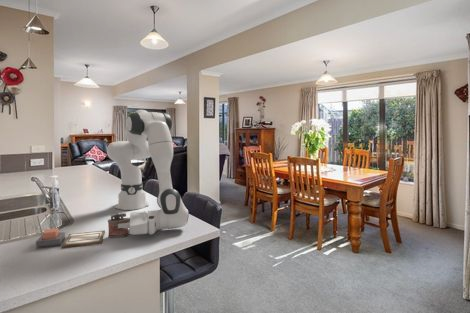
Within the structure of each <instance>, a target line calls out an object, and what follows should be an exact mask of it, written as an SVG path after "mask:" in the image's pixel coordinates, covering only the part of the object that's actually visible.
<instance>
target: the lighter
mask: <svg viewBox="0 0 470 313" xmlns="http://www.w3.org/2000/svg"><path fill="white" fill-rule="evenodd" d="M128 218H129V217H127V213H125V212H124V213H117V212H116V213H115V214H114V213H113V214H110V218H109V219H107V223H108V226H107V227H108V239H118V238H119V239H120V238H121V239H122V238H127V237H128V236H129V228H128V229H126V228H118V223H128Z"/></svg>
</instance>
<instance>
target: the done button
mask: <svg viewBox="0 0 470 313" xmlns="http://www.w3.org/2000/svg"><path fill="white" fill-rule="evenodd" d="M59 232H60V231H59V227H58V228H47V229H45V230H44V231H42V234H43V239H53V238H57V237H58V236H59Z"/></svg>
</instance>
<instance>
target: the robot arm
mask: <svg viewBox="0 0 470 313" xmlns="http://www.w3.org/2000/svg"><path fill="white" fill-rule="evenodd" d="M125 125H126V131H125V138H126V140H118V141H114V142H110V143H109V144H108V146H107V147H106V155H107V157H108V158H109V159H110V160H111V161H113V162H114V163H116V165H117V166H118V168H119V171H120V177H121V184H120V190H121V191H120V192H119V193H118V196H117V197H118V203H117V204H116V205H115V206H114V207H115V209H118V210H123V211H124V210H125V211H133V210H134V211H133V212H130V214H129V217H127V218H128V223H118V228H126V229H128V234H130V235H136V236H137V235H146V234H148V235H154V234H155V233H156V232H157V231H161V230H163V229H166V230H167V229H168V230H170V229H171V230H173V229H178V228H182V227H185V226H186V225H187V224H188V221H189V216H190V214H189V210H188V209H187V207H186V206H185V204H184V202H183V200H182V198H181V194H180V193H179V191H178V190H176V189H174V188H173V182H172V176H171V165H172V162H173V158H174V143H173V139H172V135H171V130H172V127H173V120H172V117H171V116H170V115H169V114H168V113H167V112H162V111H161V112H156V111H147V110H145V109H138V110H135V111H134V112H132V113H129V114H128V115H127V116H126V122H125ZM148 158H151V160H152V163H153V166H154V168H155V170H156V174H157V182H158V194H157V198H156V203H157V206H158V207H159V208H160V209H158V210H157V209H156V210H155V209H154V210H153V209H152V210H147V211H135V210H140V209H143V208H146V207H149V206H150V203H149V202H148V201H147V199H146V192H145V190H143V187H144V186H143V181H142V179H143V178H142V176H143V175H142V170H141V168H140V167H138V166H137V165H134V164H133V163H132V160H133V161H134V160H144V159H148Z"/></svg>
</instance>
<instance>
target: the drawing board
mask: <svg viewBox="0 0 470 313" xmlns="http://www.w3.org/2000/svg"><path fill="white" fill-rule="evenodd" d="M105 233H106V230H98V231H87V232H76V233H69V234H68V235H67V236H66V237H65V240H64V241H63V243H62V244H61V249H70V248H77V247H78V248H79V247H87V246H95V245H102V244H103V241H104V236H105V235H106V234H105Z"/></svg>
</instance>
